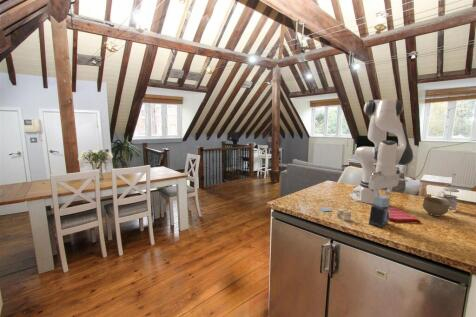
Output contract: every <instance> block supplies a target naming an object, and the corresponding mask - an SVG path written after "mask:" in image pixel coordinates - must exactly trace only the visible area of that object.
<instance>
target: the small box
mask: <svg viewBox="0 0 476 317" xmlns="http://www.w3.org/2000/svg"><path fill="white" fill-rule="evenodd" d="M372 205H373V206H372ZM372 205H371V206H370V213H369V219H368V220H369V221H368V224H369V225H371V226H374V227H377V228H383V227H385V226H386V225H388V224H389V220H388V218H389V211H390V207H391V206H390V205H389V207H384V208H381V207H379V206H376V205H374V204H372ZM387 223H388V224H387ZM382 226H383V227H382Z"/></svg>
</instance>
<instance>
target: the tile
mask: <svg viewBox="0 0 476 317" xmlns="http://www.w3.org/2000/svg"><path fill="white" fill-rule="evenodd" d="M317 209H319V210H320V211H321V212H322V213H324V212H325V213H327V212H328V213H330V212H331V213H332V212H333V210H332V209H330V208H329V207H327V206H325V207H322V206H319V207H317Z"/></svg>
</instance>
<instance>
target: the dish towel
mask: <svg viewBox="0 0 476 317" xmlns="http://www.w3.org/2000/svg"><path fill="white" fill-rule="evenodd" d="M373 205H374V204H371V206H373ZM392 221H402V222H401V223H408V222H420V223H421V220H420V219H417V218H416V217H414V216H412V215H410V214H409V213H406V212H405V211H404V210H401V209H400V208H399V207H396V206H390V211H389V218H388V222H392Z"/></svg>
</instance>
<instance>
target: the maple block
mask: <svg viewBox="0 0 476 317" xmlns="http://www.w3.org/2000/svg"><path fill="white" fill-rule="evenodd" d="M351 217H352V211H351V210H348V209H346V208H340V209H337V213H336V218H337V219H339V220H341V221H343V222H345V221H351Z"/></svg>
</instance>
